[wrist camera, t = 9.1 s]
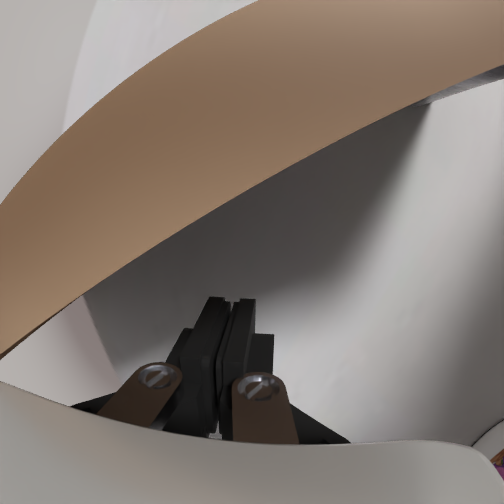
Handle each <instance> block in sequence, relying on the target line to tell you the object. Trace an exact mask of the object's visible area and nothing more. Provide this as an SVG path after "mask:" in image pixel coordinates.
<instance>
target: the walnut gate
mask: <svg viewBox="0 0 504 504" xmlns="http://www.w3.org/2000/svg"><path fill="white" fill-rule="evenodd" d="M503 64H504V0H258V1H256V2H254V3H252V4H250V5H247V6H245V7H243V8H241V9H239V10H237V11H235V12H233V13H231V14H229V15H227V16H225V17H223V18H221V19H219V20H218V21H216V22H214V23H212V24H210V25H208V26H207V27H205V28H203V29H201V30H200V31H198V32H196V33H194V34H193V35H191V36H189V37H188V38H186V39H184V40H183V41H181V42H179V43H178V44H176V45H175V46H173V47H172V48H170V49H168V50H167V51H165V52H164V53H162V54H161V55H159V56H158V57H156V58H155V59H154V60H152V61H151V62H149V63H148V64H146V65H145V66H144V67H142V68H141V69H139V70H138V71H137V72H135V73H134V74H133V75H131V76H130V77H129V78H127V79H126V80H125V81H123V82H122V83H121V84H119V85H118V86H117V87H116V88H114V89H113V90H112V91H111V92H109V93H108V94H107V95H106V96H105V97H103V98H102V99H101V100H100V101H99V102H97V103H96V104H95V105H94V106H93V107H92V108H90V109H89V110H88V111H87V112H86V113H85V114H84V115H83V116H81V117H80V118H79V119H78V120H77V121H76V122H75V123H74V124H73V125H72V126H71V127H70V128H69V129H68V130H67V131H65V132H64V133H63V134H62V135H61V136H60V137H59V138H58V139H57V140H56V141H55V142H54V143H53V144H52V146H50V148H49V149H48V150H47V151H46V152H45V153H44V154H43V155H42V156H41V157H40V158H39V159H38V160H37V161H36V162H35V164H34V165H33V166H32V167H31V168H30V169H29V170H28V171H27V173H26V174H25V175H24V176H23V177H22V178H21V180H20V181H19V182H18V183H17V184H16V186H15V187H14V188H13V189H12V190H11V192H10V193H9V194H8V195H7V197H6V198H5V199H4V201H3V202H2V203H1V204H0V360H1V359H2V358H3V357H4V356H6V355H7V354H8V353H9V352H10V351H11V350H13V349H14V348H15V347H16V346H18V345H19V344H20V343H21V342H22V341H24V340H25V339H26V338H27V337H28V336H30V335H31V334H32V333H33V332H35V331H36V330H37V329H38V328H40V327H41V326H42V325H44V324H45V323H46V322H47V321H49V320H50V319H51V318H52V317H54V316H55V315H56V314H58V313H59V312H60V311H62V310H63V309H64V308H65V307H67V306H68V305H69V304H71V303H72V302H73V301H75V300H76V299H77V298H79V297H80V296H81V295H83V294H84V293H85V292H87V291H88V290H89V289H91V288H92V287H94V286H95V285H96V284H98V283H99V282H101V281H102V280H104V279H105V278H107V277H108V276H110V275H111V274H113V273H114V272H116V271H117V270H119V269H120V268H122V267H123V266H125V265H126V264H128V263H129V262H131V261H132V260H134V259H135V258H137V257H139V256H140V255H142V254H143V253H145V252H146V251H148V250H149V249H151V248H153V247H154V246H156V245H157V244H159V243H160V242H162V241H164V240H165V239H167V238H168V237H170V236H172V235H173V234H175V233H176V232H178V231H180V230H181V229H183V228H184V227H186V226H188V225H189V224H191V223H193V222H194V221H196V220H198V219H199V218H201V217H202V216H204V215H206V214H207V213H209V212H211V211H212V210H214V209H216V208H217V207H219V206H221V205H223V204H224V203H226V202H228V201H229V200H231V199H233V198H234V197H236V196H238V195H240V194H241V193H243V192H245V191H247V190H248V189H250V188H252V187H253V186H255V185H257V184H259V183H261V182H262V181H264V180H266V179H268V178H269V177H271V176H273V175H275V174H277V173H278V172H280V171H282V170H284V169H286V168H287V167H289V166H291V165H293V164H295V163H296V162H298V161H300V160H302V159H304V158H306V157H308V156H309V155H311V154H313V153H315V152H317V151H319V150H321V149H323V148H324V147H326V146H328V145H330V144H332V143H334V142H336V141H338V140H340V139H342V138H344V137H346V136H348V135H349V134H351V133H353V132H355V131H357V130H359V129H361V128H363V127H365V126H367V125H369V124H371V123H373V122H375V121H377V120H379V119H381V118H384V117H386V116H388V115H390V114H392V113H394V112H396V111H398V110H400V109H402V108H404V107H406V106H409V105H411V104H413V103H415V102H417V101H419V100H421V99H424V98H426V97H428V96H430V95H432V94H435V93H437V92H439V91H441V90H444V89H446V88H448V87H450V86H453V85H455V84H457V83H459V82H462V81H464V80H467V79H469V78H471V77H474V76H476V75H478V74H481V73H483V72H486V71H488V70H491V69H493V68H496V67H498V66H501V65H503Z"/></svg>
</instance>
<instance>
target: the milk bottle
mask: <svg viewBox="0 0 504 504" xmlns="http://www.w3.org/2000/svg"><path fill="white" fill-rule="evenodd" d="M472 448H474V449H476V450H478V451H479V452H481V453H482V454H483V455H484V456H485V457H486V458H487V459H488V460H489V461H490V462H491V463H492V464H493V466H494V467H495V468H496V470H497V471H498V473H499V474H500V476H501V477H502V479H503V480H504V421H502V422H500V423H499V424H497V425H496V426H495V427H493V428H492V429H491V430H489V431H488V432H487V433H486V434H485V435H483V436H482V437H481V438H480V439H479V440H478V441H477V442H476V443H475V444H474V445H473V446H472Z"/></svg>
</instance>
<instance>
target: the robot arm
mask: <svg viewBox="0 0 504 504" xmlns="http://www.w3.org/2000/svg"><path fill="white" fill-rule="evenodd" d="M255 307H256V300H255V299H242V298H241V299H240V302H234V305H233V308H232V311H231V304H230V302H228V301H225V298H224V297H209V299H208V300H207V302H206V304H205V306H204V308H203V310H202V312H201V314H200V316H199V318H198V320H197V322H196V324H195V326H194V328H193V329H191V328H184V329H183V331H182V333H181V335H180V336H179V338H178V340H177V342H176V344H175V345H174V347H173V349H172V351H171V353H170V354H169V356H168V358H167V360H166V362H165V363H164V362H155V363H150V364H146V365H144V366H142V367H140V368H139V369H138V370H136V371H135V372H134V373H133V375H132V376H131V377H130V378H129V379H128V380H127V381H126V382H125V383H124V384H123V385H122V386H121V388H120V389H119V390H118V391H117V392H115V393H112V394H109V395H105V396H102V397H99V398H95V399H92V400H89V401H85V402H82V403H78V404H75V405H72V406H70V407H69V406H66V405H63V404H60V403H57V402H54V401H52V400H49V399H46V398H44V397H41V396H38V395H36V394H33V393H30V392H28V391H25V390H23V389H20V388H17V387H15V386H12V385H10V384H7V383H4V382H1V381H0V504H504V480H503V479H502V477H501V476H500V474H499V473H498V471H497V470H496V468H495V467H494V466H493V464H492V463H491V462H490V461H489V460H488V459H487V458H486V457H485V456H484V455H483V454H482V453H481V452H479V451H478V450H476V449H474V448H472V447H469V446H466V445H462V444H458V443H452V442H444V441H437V440H402V441H387V442H372V443H351V442H349V441H348V440H347V439H346V438H344V437H342V436H340V435H339V434H337V433H336V432H334V431H332V430H331V429H329V428H327V427H326V426H324V425H323V424H321V423H319V422H318V421H316V420H315V419H313V418H312V417H310V416H308V415H307V414H305V413H304V412H302V411H301V410H299V409H298V408H296V407H295V406H293V405H292V404H290V403H289V399H288V395H287V391H286V387H285V385H284V383H283V381H282V380H281V379H279V378H278V377H276V376H274V375H272V374H273V352H274V334H255ZM218 420H219V433H220V434H222V440H221V439H212V438H208V437H209V433H215V432H216V428H217V424H218Z"/></svg>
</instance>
